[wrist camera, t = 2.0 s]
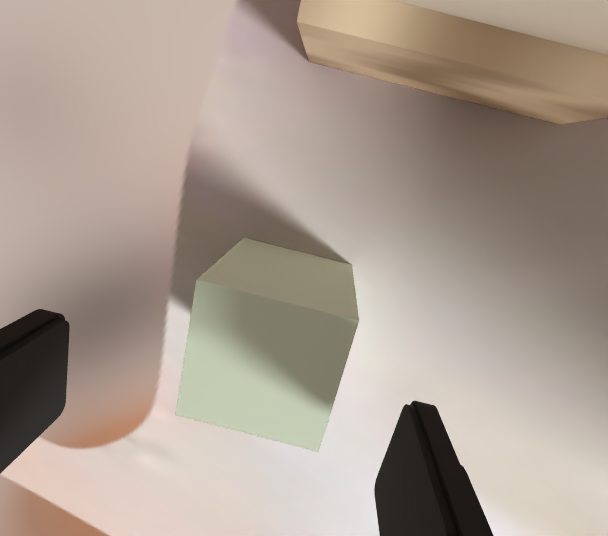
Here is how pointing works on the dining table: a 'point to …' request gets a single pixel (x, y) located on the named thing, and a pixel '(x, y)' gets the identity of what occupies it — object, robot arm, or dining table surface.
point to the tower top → (536, 18)
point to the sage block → (268, 343)
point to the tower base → (456, 58)
